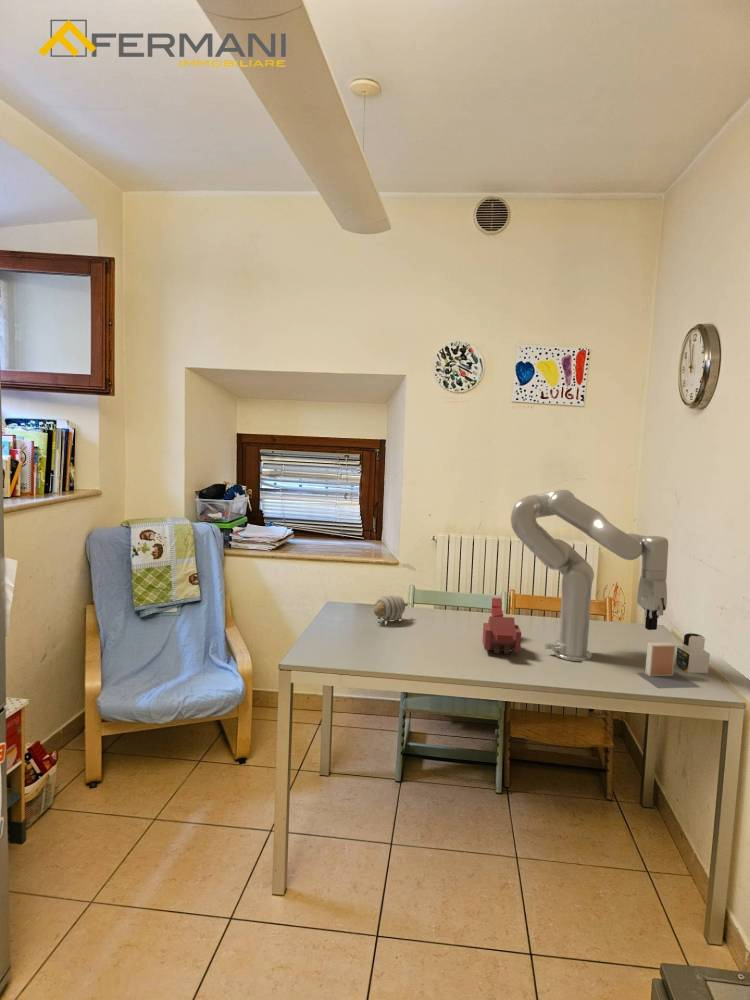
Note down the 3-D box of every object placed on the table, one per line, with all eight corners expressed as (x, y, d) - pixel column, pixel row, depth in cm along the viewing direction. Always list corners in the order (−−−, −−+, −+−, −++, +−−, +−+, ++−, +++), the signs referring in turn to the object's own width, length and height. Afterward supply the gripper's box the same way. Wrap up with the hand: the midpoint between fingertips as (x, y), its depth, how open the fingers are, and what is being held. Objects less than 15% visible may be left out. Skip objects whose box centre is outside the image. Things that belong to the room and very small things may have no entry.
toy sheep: (365, 622, 245) (366, 595, 244) (395, 614, 257) (396, 588, 256) (385, 629, 238) (386, 600, 237) (414, 620, 250) (415, 593, 249)
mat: (657, 690, 188) (657, 688, 188) (635, 674, 200) (636, 672, 200) (700, 688, 190) (700, 687, 190) (676, 673, 202) (676, 671, 202)
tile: (649, 676, 198) (652, 645, 197) (645, 673, 200) (647, 642, 199) (673, 675, 199) (675, 645, 198) (668, 672, 201) (670, 642, 200)
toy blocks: (515, 667, 222) (510, 605, 237) (524, 641, 206) (517, 576, 222) (481, 666, 223) (477, 604, 238) (487, 640, 207) (483, 575, 222)
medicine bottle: (675, 666, 209) (678, 631, 208) (695, 666, 209) (698, 631, 208) (687, 674, 202) (690, 638, 201) (708, 674, 202) (711, 638, 201)
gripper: (630, 569, 210) (628, 622, 212) (656, 579, 196) (653, 636, 198) (651, 569, 212) (648, 622, 213) (678, 579, 197) (675, 635, 199)
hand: (651, 629), depth 205 cm, fingers closed
